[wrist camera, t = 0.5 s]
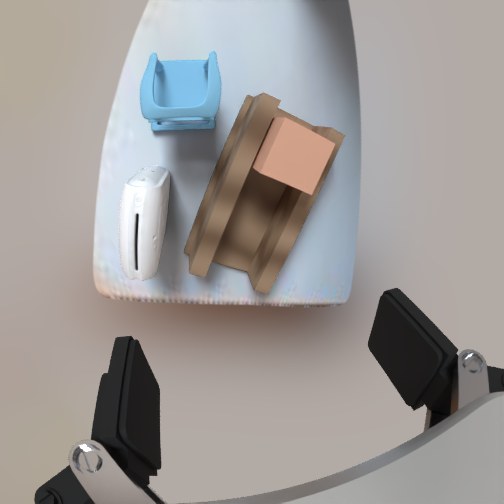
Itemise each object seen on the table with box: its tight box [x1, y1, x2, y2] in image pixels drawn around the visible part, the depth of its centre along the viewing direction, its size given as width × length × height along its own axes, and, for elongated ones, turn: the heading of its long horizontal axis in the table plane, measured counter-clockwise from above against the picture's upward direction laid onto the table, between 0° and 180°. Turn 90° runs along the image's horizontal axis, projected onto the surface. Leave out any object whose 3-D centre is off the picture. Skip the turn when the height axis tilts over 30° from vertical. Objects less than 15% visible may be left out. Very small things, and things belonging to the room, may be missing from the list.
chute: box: [184, 93, 345, 294], centre depth 33 cm, size 22×12×6 cm, turn 156°
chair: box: [140, 51, 221, 131], centre depth 24 cm, size 8×8×12 cm
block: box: [251, 117, 335, 195], centre depth 30 cm, size 6×6×8 cm
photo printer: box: [119, 165, 170, 281], centre depth 28 cm, size 10×4×12 cm, turn 169°
